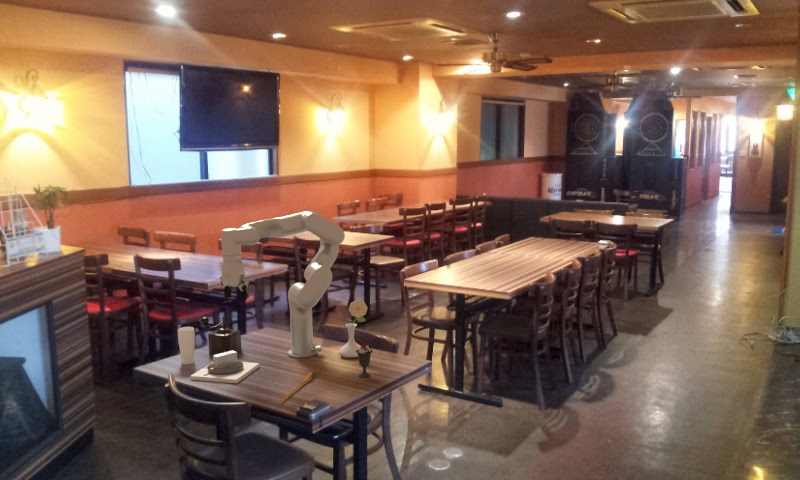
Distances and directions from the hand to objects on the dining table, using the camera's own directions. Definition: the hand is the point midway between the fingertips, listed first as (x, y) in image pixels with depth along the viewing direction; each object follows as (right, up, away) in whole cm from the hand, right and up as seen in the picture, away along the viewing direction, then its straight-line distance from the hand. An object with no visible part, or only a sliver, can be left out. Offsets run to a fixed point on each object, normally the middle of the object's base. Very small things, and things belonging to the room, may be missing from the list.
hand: (235, 298), depth 285 cm
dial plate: (-2, -30, -7) cm, 31 cm away
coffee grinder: (-10, -26, +17) cm, 33 cm away
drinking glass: (-22, -28, +6) cm, 36 cm away
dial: (-2, -28, -8) cm, 29 cm away
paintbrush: (+31, -32, -24) cm, 50 cm away
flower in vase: (+48, -26, +13) cm, 56 cm away
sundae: (+54, -30, -12) cm, 63 cm away
